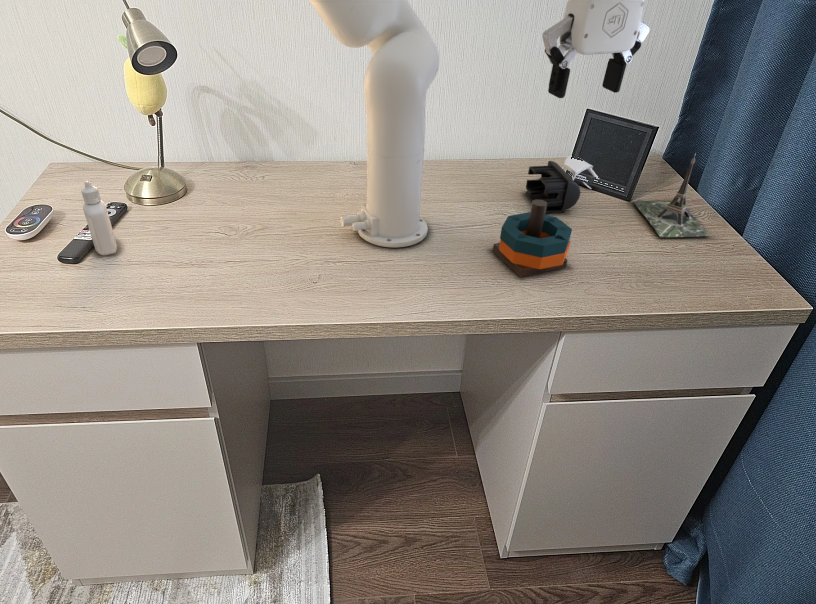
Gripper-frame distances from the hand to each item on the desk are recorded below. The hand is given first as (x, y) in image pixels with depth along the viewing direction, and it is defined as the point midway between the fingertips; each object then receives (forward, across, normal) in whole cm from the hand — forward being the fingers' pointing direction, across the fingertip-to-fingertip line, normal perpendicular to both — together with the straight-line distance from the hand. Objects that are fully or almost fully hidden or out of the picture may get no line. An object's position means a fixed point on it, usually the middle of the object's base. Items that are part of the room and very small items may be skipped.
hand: (583, 92), depth 89 cm
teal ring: (+24, -3, 0) cm, 24 cm away
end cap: (+27, +12, +17) cm, 34 cm away
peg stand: (+27, -4, 0) cm, 27 cm away
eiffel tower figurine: (+27, +30, +3) cm, 41 cm away
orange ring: (+26, -3, 0) cm, 26 cm away
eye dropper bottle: (+28, -70, +28) cm, 80 cm away
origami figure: (+27, +22, +23) cm, 42 cm away
